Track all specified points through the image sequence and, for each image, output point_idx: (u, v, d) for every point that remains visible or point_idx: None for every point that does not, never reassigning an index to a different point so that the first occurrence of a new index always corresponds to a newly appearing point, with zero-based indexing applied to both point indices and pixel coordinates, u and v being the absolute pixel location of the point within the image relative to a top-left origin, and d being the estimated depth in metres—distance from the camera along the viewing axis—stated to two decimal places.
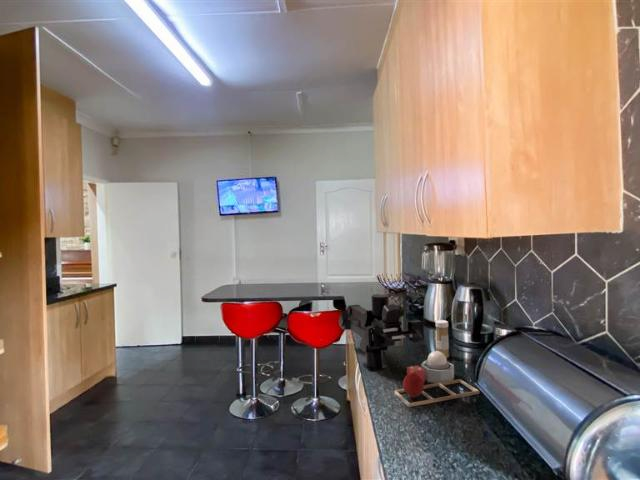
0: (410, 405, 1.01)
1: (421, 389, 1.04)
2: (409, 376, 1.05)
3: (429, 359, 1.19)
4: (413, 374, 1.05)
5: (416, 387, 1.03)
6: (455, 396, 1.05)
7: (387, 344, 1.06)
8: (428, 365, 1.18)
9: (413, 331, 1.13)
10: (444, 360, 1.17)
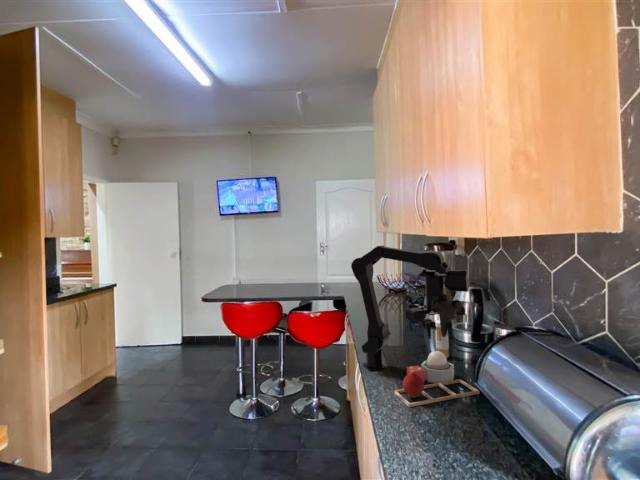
0: (410, 405, 1.01)
1: (421, 389, 1.04)
2: (409, 376, 1.05)
3: (429, 359, 1.19)
4: (413, 374, 1.05)
5: (416, 387, 1.03)
6: (455, 396, 1.05)
7: (424, 330, 1.19)
8: (428, 365, 1.18)
9: (445, 319, 1.19)
10: (444, 360, 1.17)
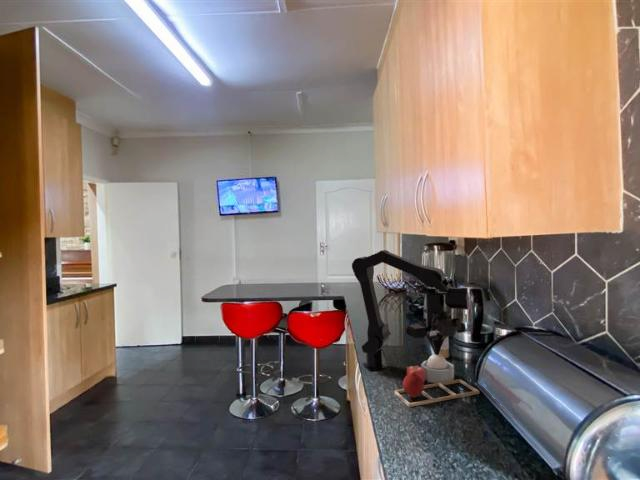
0: (410, 405, 1.01)
1: (421, 389, 1.04)
2: (409, 376, 1.05)
3: (429, 362, 1.19)
4: (413, 374, 1.05)
5: (416, 387, 1.03)
6: (455, 396, 1.05)
7: (431, 346, 1.20)
8: None
9: (439, 337, 1.19)
10: (444, 363, 1.17)
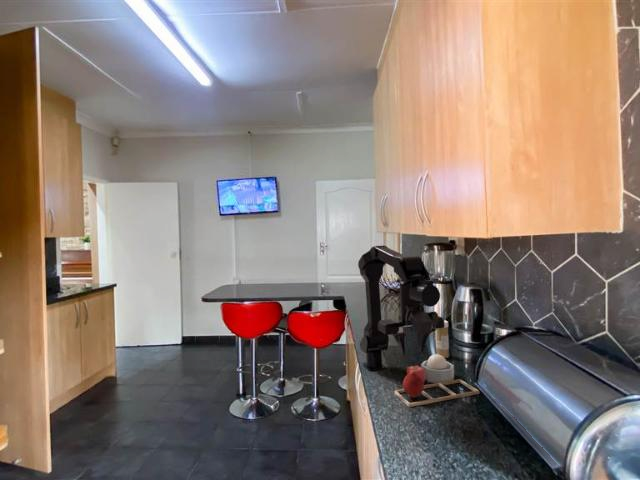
0: (410, 405, 1.01)
1: (421, 389, 1.04)
2: (409, 376, 1.05)
3: (429, 362, 1.19)
4: (413, 374, 1.05)
5: (416, 386, 1.03)
6: (455, 396, 1.05)
7: (398, 345, 1.06)
8: None
9: (422, 332, 1.06)
10: (444, 363, 1.17)
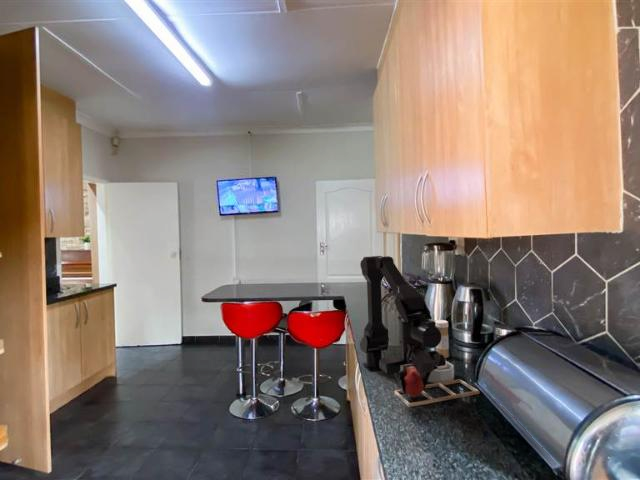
0: (410, 405, 1.01)
1: (421, 389, 1.04)
2: (409, 376, 1.05)
3: None
4: (413, 374, 1.05)
5: (416, 387, 1.03)
6: (455, 396, 1.05)
7: (399, 383, 1.06)
8: None
9: None
10: None
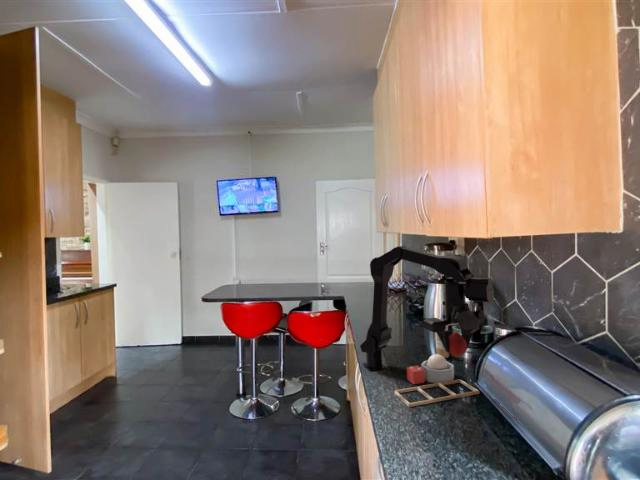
0: (410, 405, 1.01)
1: (465, 348, 1.07)
2: (453, 336, 1.09)
3: (429, 362, 1.19)
4: (457, 334, 1.09)
5: (461, 345, 1.07)
6: (455, 396, 1.05)
7: (442, 343, 1.09)
8: None
9: (467, 330, 1.10)
10: (444, 363, 1.17)
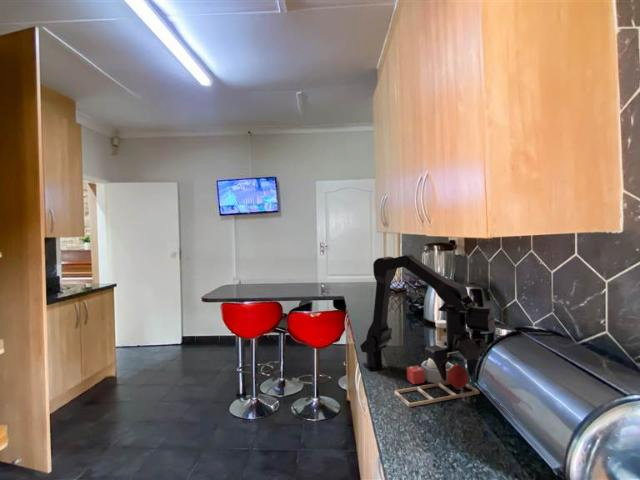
0: (410, 405, 1.01)
1: (466, 381, 1.08)
2: (454, 368, 1.09)
3: (429, 362, 1.19)
4: (458, 366, 1.09)
5: (462, 378, 1.07)
6: (455, 396, 1.05)
7: (439, 371, 1.09)
8: None
9: None
10: None
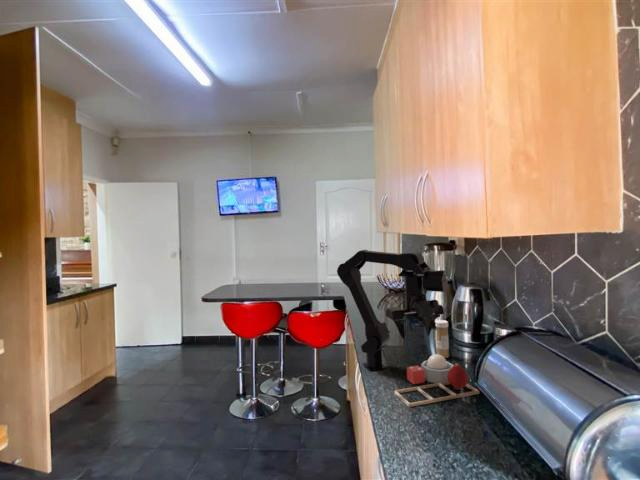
0: (410, 405, 1.01)
1: (466, 381, 1.08)
2: (454, 369, 1.09)
3: (429, 362, 1.19)
4: (458, 367, 1.09)
5: (462, 379, 1.07)
6: (455, 396, 1.05)
7: (399, 330, 1.20)
8: None
9: (429, 318, 1.22)
10: (444, 363, 1.17)
